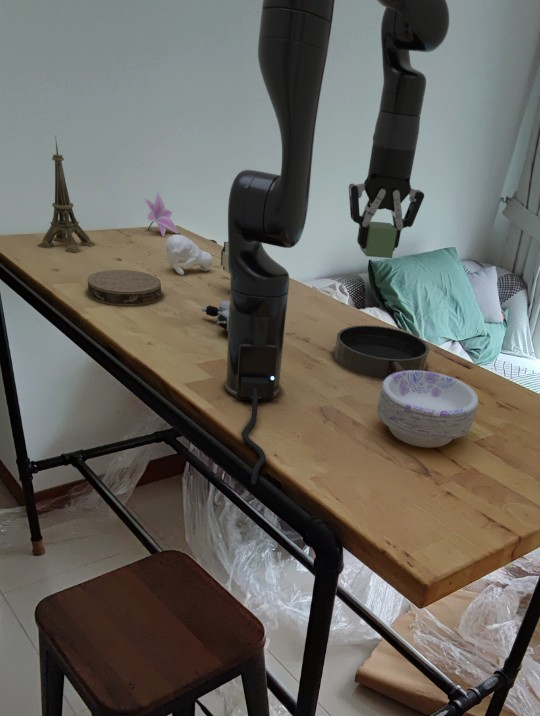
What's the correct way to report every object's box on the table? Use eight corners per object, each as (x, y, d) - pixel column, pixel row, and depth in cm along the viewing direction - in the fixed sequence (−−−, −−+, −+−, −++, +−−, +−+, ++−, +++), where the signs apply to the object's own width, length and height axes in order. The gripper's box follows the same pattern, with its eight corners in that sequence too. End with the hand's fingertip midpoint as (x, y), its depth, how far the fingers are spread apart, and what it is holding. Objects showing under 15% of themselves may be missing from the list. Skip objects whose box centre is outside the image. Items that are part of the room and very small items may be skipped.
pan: (436, 382, 123) (441, 362, 121) (344, 378, 120) (348, 358, 118) (409, 346, 137) (413, 327, 135) (326, 342, 134) (328, 323, 132)
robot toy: (197, 321, 138) (225, 342, 127) (197, 299, 136) (226, 319, 125) (249, 317, 143) (280, 337, 133) (250, 296, 141) (282, 314, 130)
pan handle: (412, 390, 114) (414, 380, 113) (401, 390, 113) (403, 379, 112) (398, 370, 121) (400, 359, 120) (387, 369, 120) (390, 359, 119)
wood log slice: (110, 310, 136) (109, 295, 134) (75, 287, 145) (74, 274, 143) (174, 300, 145) (174, 286, 143) (138, 280, 154) (137, 267, 152)
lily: (141, 240, 187) (155, 211, 181) (126, 214, 191) (140, 185, 185) (175, 251, 195) (189, 223, 190) (160, 225, 199) (174, 198, 194)
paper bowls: (404, 463, 97) (415, 415, 92) (357, 417, 108) (365, 372, 103) (485, 451, 103) (499, 406, 98) (433, 409, 113) (444, 366, 109)
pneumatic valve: (235, 286, 158) (238, 234, 151) (262, 301, 151) (266, 247, 143) (216, 288, 155) (217, 235, 148) (242, 304, 148) (245, 248, 141)
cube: (392, 258, 120) (397, 229, 117) (366, 256, 120) (370, 227, 116) (385, 251, 124) (390, 222, 121) (360, 249, 123) (364, 220, 120)
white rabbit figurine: (164, 231, 158) (209, 235, 164) (161, 267, 163) (206, 270, 169) (172, 237, 154) (219, 242, 160) (169, 274, 159) (215, 277, 165)
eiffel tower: (94, 244, 175) (86, 136, 160) (75, 252, 167) (64, 140, 151) (58, 238, 176) (47, 130, 161) (38, 246, 168) (23, 134, 153)
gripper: (358, 143, 107) (343, 251, 117) (440, 151, 109) (418, 257, 120) (349, 137, 113) (336, 241, 123) (427, 145, 115) (407, 246, 125)
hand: (376, 248), depth 121 cm, fingers closed on cube, 5 cm apart
